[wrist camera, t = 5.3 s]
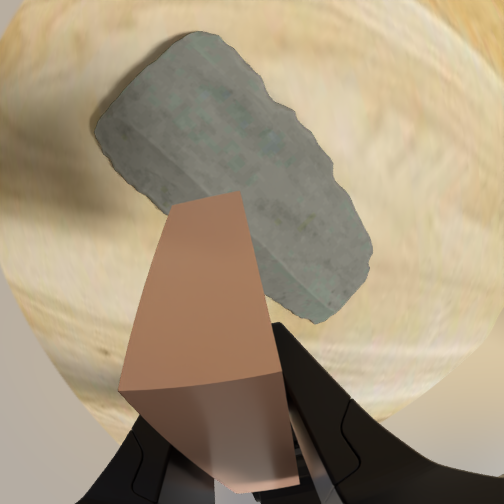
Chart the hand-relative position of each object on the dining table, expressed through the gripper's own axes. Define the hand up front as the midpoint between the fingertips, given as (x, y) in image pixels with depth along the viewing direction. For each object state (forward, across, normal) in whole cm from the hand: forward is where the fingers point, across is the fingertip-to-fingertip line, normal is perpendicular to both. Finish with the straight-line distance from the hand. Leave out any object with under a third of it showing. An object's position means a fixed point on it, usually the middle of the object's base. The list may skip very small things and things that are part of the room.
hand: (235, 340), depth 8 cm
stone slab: (+12, -3, +1) cm, 12 cm away
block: (+2, 0, 0) cm, 2 cm away
